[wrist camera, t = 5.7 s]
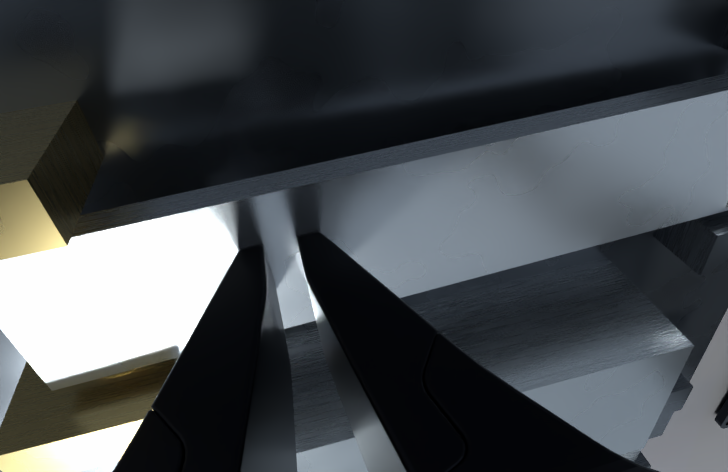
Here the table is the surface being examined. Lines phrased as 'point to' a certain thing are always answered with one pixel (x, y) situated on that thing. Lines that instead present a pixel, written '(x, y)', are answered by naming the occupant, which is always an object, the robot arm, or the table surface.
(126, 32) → the cooler plate
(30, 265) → the bar
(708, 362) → the table surface
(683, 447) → the table surface
